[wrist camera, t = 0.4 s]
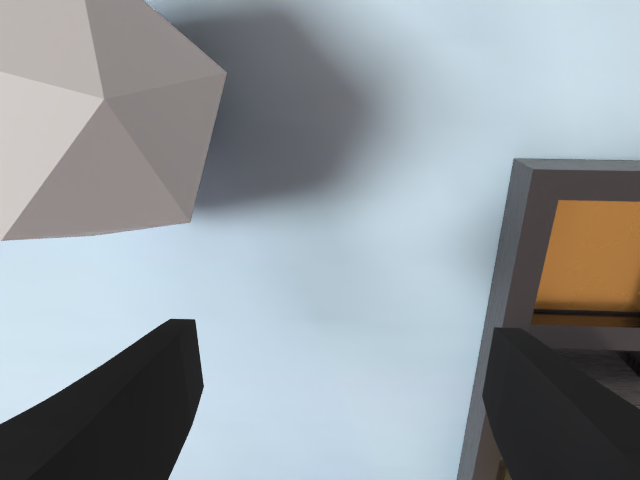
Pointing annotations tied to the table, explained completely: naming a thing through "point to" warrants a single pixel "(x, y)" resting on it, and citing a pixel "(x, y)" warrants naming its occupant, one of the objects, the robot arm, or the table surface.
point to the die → (100, 118)
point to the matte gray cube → (606, 371)
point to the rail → (561, 274)
